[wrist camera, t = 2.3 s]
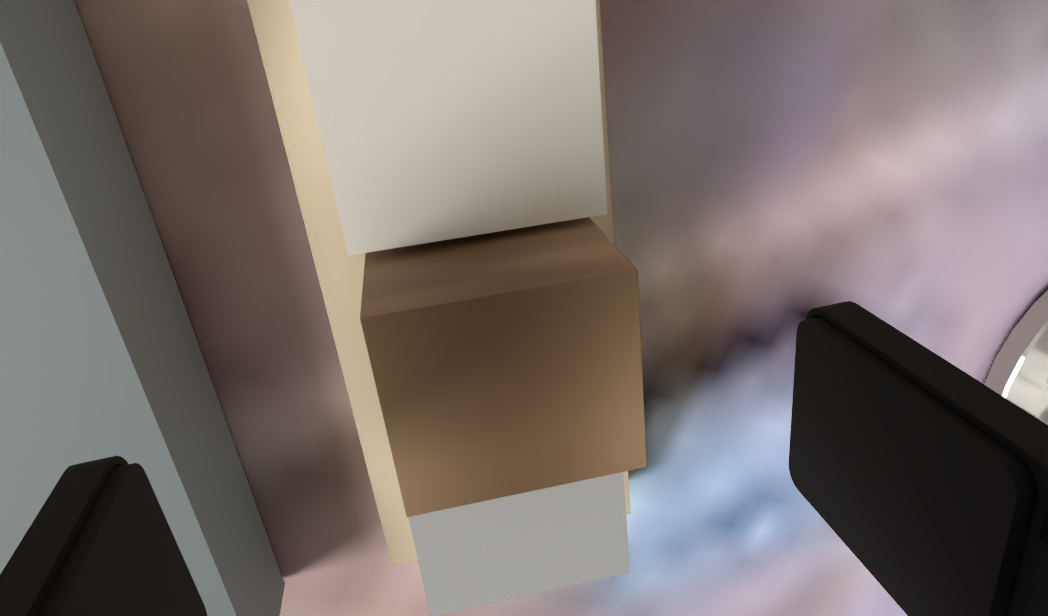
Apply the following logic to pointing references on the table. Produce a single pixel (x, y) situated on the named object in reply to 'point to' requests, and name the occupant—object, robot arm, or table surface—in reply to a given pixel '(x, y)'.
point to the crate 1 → (454, 114)
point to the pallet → (469, 336)
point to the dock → (104, 322)
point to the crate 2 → (522, 544)
